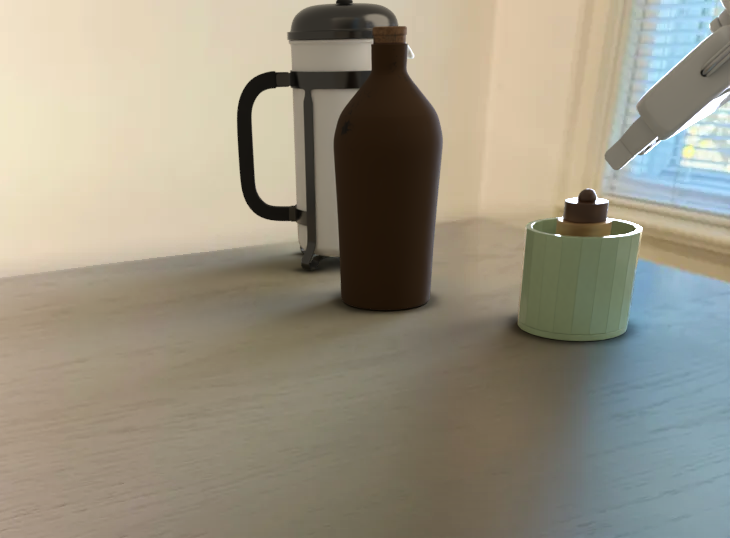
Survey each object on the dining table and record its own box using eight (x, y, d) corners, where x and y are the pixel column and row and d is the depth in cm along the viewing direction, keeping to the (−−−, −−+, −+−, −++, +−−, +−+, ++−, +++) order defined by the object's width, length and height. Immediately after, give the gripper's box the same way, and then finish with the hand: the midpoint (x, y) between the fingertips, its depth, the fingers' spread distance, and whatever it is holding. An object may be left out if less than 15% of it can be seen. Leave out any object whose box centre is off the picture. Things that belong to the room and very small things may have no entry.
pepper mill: (594, 312, 86) (611, 184, 80) (602, 326, 82) (621, 192, 76) (544, 311, 86) (557, 184, 81) (549, 325, 82) (563, 193, 76)
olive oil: (413, 317, 88) (422, 25, 75) (318, 306, 92) (311, 27, 79) (450, 292, 96) (463, 25, 83) (360, 283, 100) (361, 27, 88)
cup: (616, 311, 88) (630, 216, 84) (636, 342, 79) (653, 237, 75) (513, 310, 89) (521, 216, 85) (522, 340, 80) (531, 237, 76)
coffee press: (342, 242, 120) (340, -19, 105) (431, 259, 110) (442, -28, 95) (241, 263, 110) (223, -22, 95) (328, 284, 100) (323, -32, 85)
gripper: (788, 59, 59) (619, 204, 68) (808, 48, 75) (668, 168, 84) (730, -16, 59) (568, 140, 68) (762, -11, 74) (626, 116, 84)
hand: (623, 155), depth 76 cm, fingers open, 8 cm apart
